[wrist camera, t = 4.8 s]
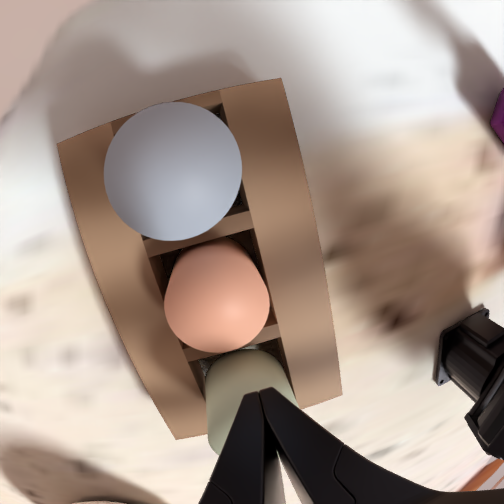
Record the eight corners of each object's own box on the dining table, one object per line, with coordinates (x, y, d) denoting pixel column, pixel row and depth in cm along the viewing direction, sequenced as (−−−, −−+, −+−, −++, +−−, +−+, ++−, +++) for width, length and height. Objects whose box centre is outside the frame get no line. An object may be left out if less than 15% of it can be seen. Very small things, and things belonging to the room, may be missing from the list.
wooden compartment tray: (328, 371, 23) (342, 394, 20) (177, 412, 22) (175, 439, 19) (269, 91, 17) (281, 77, 14) (77, 147, 16) (56, 144, 14)
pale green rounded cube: (290, 398, 20) (310, 448, 15) (218, 417, 19) (224, 471, 15) (275, 339, 18) (297, 388, 14) (194, 361, 18) (193, 415, 13)
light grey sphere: (241, 205, 16) (256, 219, 12) (147, 232, 16) (126, 256, 11) (217, 110, 15) (223, 86, 10) (122, 139, 14) (90, 127, 10)
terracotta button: (262, 300, 20) (279, 337, 16) (187, 321, 20) (184, 362, 15) (243, 225, 19) (255, 243, 14) (162, 248, 19) (149, 273, 14)
